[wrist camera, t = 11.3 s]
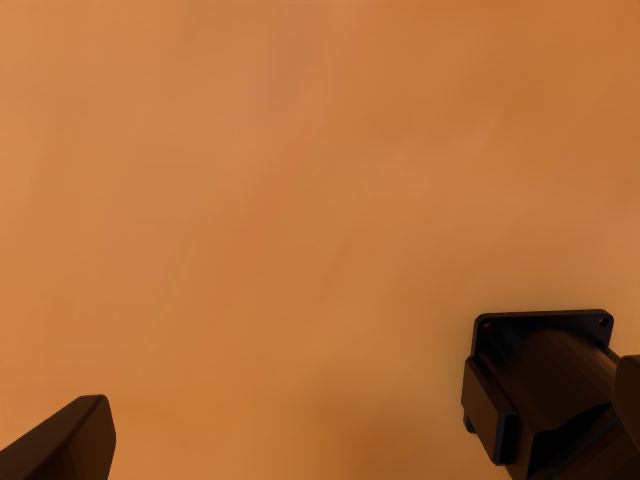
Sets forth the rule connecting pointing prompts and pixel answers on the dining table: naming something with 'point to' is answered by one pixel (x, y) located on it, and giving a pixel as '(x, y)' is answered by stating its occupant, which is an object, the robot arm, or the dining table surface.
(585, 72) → the dining table surface
